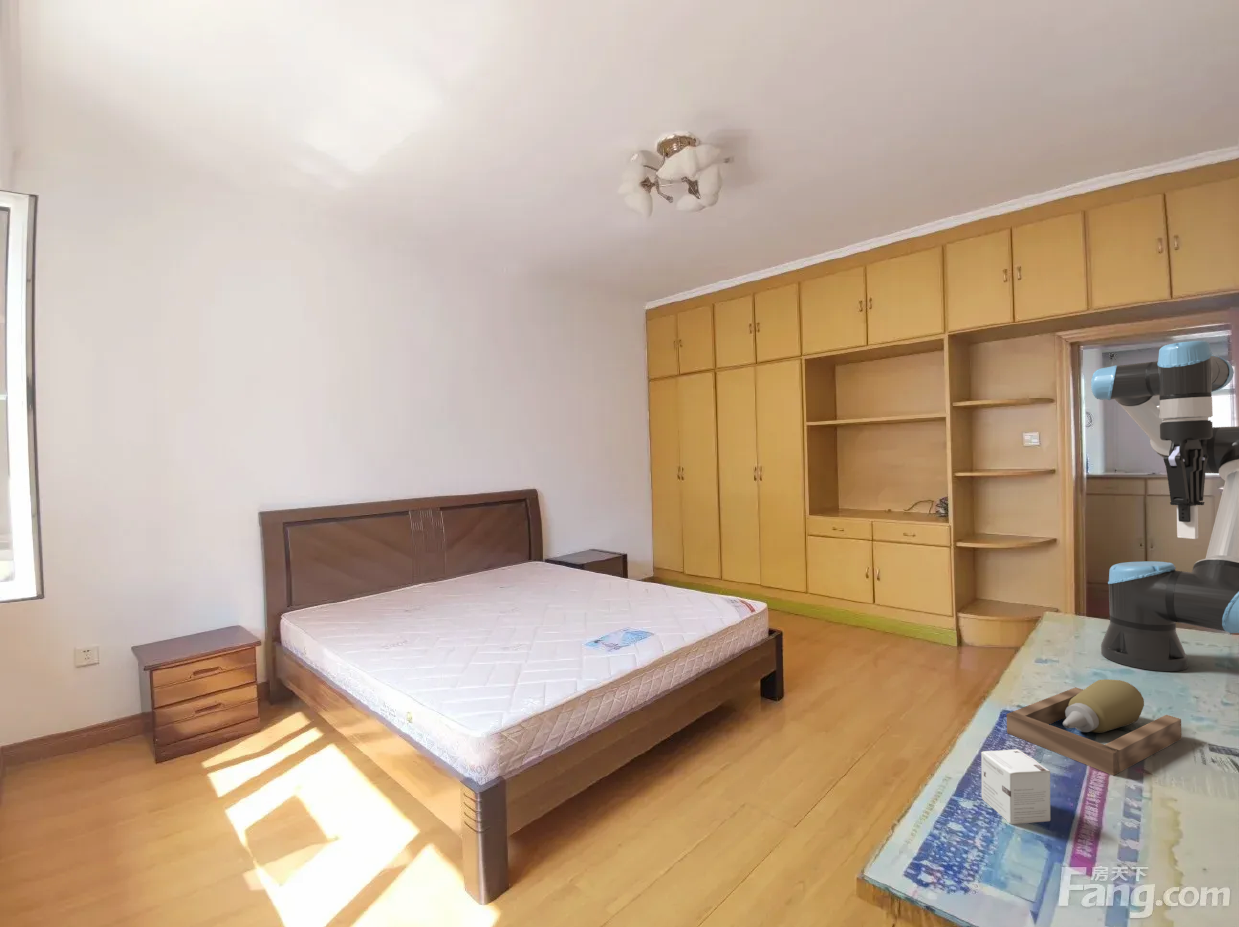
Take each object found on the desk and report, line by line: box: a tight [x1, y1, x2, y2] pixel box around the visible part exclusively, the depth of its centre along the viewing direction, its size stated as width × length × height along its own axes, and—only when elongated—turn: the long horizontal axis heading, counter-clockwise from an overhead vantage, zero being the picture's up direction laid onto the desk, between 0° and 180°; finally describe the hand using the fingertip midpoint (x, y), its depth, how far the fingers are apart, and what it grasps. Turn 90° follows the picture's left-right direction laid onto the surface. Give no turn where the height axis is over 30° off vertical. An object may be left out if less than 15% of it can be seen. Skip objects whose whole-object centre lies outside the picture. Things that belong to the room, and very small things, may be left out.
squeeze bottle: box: [1062, 679, 1145, 734], centre depth 105 cm, size 8×8×18 cm
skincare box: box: [980, 748, 1051, 825], centre depth 83 cm, size 6×6×7 cm
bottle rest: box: [1006, 686, 1182, 776], centre depth 103 cm, size 23×16×4 cm
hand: (1187, 537), depth 116 cm, fingers closed
